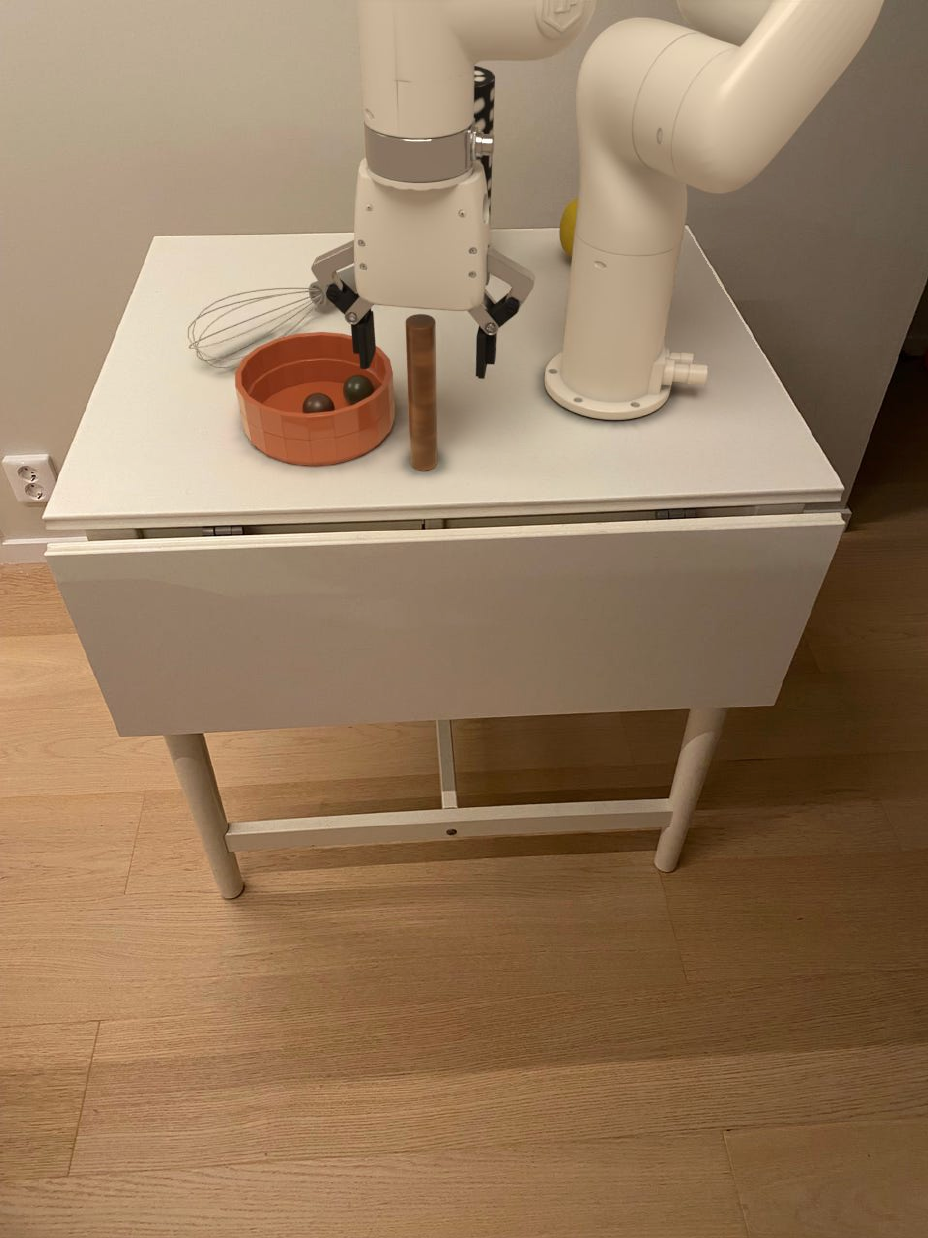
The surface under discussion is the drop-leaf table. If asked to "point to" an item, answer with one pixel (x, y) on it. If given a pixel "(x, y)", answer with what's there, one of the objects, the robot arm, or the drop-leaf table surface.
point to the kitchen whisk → (316, 297)
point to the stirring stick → (422, 390)
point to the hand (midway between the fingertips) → (424, 365)
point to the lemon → (568, 226)
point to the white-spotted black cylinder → (484, 115)
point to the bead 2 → (357, 389)
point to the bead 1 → (318, 403)
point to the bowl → (298, 369)
